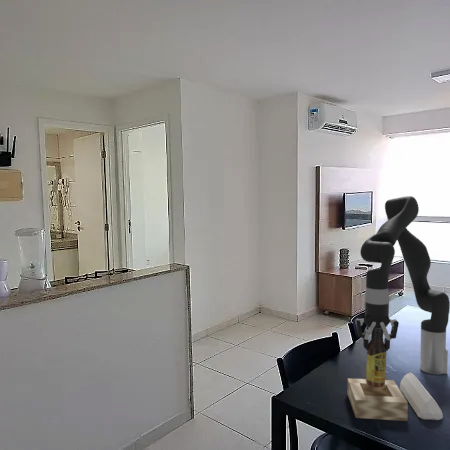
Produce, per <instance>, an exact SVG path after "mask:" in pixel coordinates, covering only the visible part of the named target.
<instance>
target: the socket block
mask: <svg viewBox="0 0 450 450" xmlns="http://www.w3.org/2000/svg"><path fill="white" fill-rule="evenodd" d="M347 398H348V399H349V403H350V405H351V408H352V411H353V414H354V416H355V418H356V419H366V420H367V419H368V420H369V419H371V420H385V421H386V420H387V421H398V422H399V421H400V422H401V421H403V422H408V417H409V416H408V414H409V412H408V409H409V408H408V405H409V404H408V403H409V402H408V400H407V399H406V397H405V396H404V394H403V393H402V391H401V390H400V387H399V386H398V385H397V383H396V382H395V380H394V379H388V380H387V379H385V385H384V386H383V387H372V386H370V385H368V384H367V382H366V378H347Z"/></svg>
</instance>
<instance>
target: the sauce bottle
mask: <svg viewBox="0 0 450 450" xmlns="http://www.w3.org/2000/svg"><path fill="white" fill-rule="evenodd" d="M370 335H371V336H370V340H369V344H368V350H366V366H365V368H366V369H365V371H366V372H365V379H366V382H367V384H368V385H370V386H372V387H383V386H384V385H385V380H387V379H386V378H387V377H386V376H387V375H386V374H387V351H386V349H385V345H384V334H383V330H382V328H374V331H372V332H371V334H370Z"/></svg>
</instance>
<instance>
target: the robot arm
mask: <svg viewBox="0 0 450 450" xmlns="http://www.w3.org/2000/svg"><path fill="white" fill-rule="evenodd" d="M384 210H385V214H386V217H387V219H388V220H386V221H385V222H383V224H382V225H380V227H379V229H378V230H377V231H376V233H375V234H373V235H371V237H369V238H367V239H366V240H365V241H364V242H363V244H362V246H361V248H360V257H361V259H363V261H365V262H367V263H376V264H381V265H380V266H379V268H372V269H371V268H370V269H368V270H367V271H366V274H365V275H366V276H365V279H366V280H365V282H366V283H365V292H364V317H363V318H355V320H354V321H355V328H356V333H357V335H358V338H362V339H363V340H362V342H363V343H362V346H363V348H364V349H365V351H367V350H368V344H369V342H370V340H369V337H370V335H371V334H372V331H374V328H382V330H383V342H384V345H385V349H386V352H388V351H389V350H390V349H391V340H392V339H396V338H397V334H398V328H399V324H400V323H399V321H398V320H397V319H395V318H393V319H391V318H390V317H389V316H390V315H389V313H390V311H389V310H390V292H389V278H390V277H389V276H390V271H391V267H392V263H393V260H394V259H395V258H394V257H395V253H396V250H395V247H394V246H395V245H396V243H398V246H399V249H400V251H401V255H402V258H403V261H404V263H405V265H406V268H407V272H408V275H409V277H410V281H411V284H412V288H413V292H414V297H415V301H416V304H417V306H418V308H419V309H421V310H422V311H424V312H428V313H431V314H430V315H431V316H430V318H429V319H423V320H422V321H421V322H420V349H419V351H420V356H419V357H420V358H419V359H420V360H419V365H420V366H419V369H420V370H421V371H422V372H424V373H426V374H429V375H437V376H441V375H445V374H447V375H448V358H449V357H448V355H449V354H448V353H449V351H448V349H447V328H448V324H449V319H450V318H449V315H450V298H449V297H450V296H449V295H448V294H447V293H445V292H442V291H438V290H435V289H432V288H431V287H430V285H429V281H428V274H429V271H430V268H431V257H430V255H429V251H428V249H427V246H426V244H424V243H423V242H422V241H421V239H419V238H418V237H417V236H415V235H414V234H413V233H412V232H410V231H409V230H408V228H407V227H408V226H410V224H411V223H413V221H414V220H415V219H416V218H417V217H418V214H419V212H420V209H419V203H418V201H417V199H416V198H415V197H414V196H412V195H406V196H401V197H396V198H391V199H388V200H386V201H385V203H384ZM363 323H365V325H366V327H365V329H364V332H363V331H362V326H363V325H364V324H363ZM389 325H390V326H391V330H390V333H389V332H388V330H387V327H388V326H389Z"/></svg>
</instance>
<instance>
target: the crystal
mask: <svg viewBox="0 0 450 450" xmlns="http://www.w3.org/2000/svg"><path fill="white" fill-rule="evenodd" d="M399 390H400V391H401V393H402V394H403V396H404V398H405V399H406V401H407V402H408V403H409V405H410V407H411V408H412V409H413V411H414V412H415V413H416V416H417V417H418V418H420V419H422V420H429V421H431V420H432V421H440V420H442V419H443V417H444V415H443V411H442V409H441V407H440V406H439V405H438V403H437V401H436V400H435V399H434V397H432V394H430V393H429V391H428V390H427V389H426V388H425V387H424V385H423V384H422V382H421V381H420V380H419V378H418V377H417V376H416V375H415V374H413V373H412V372H410V371H409V372H408V373H407V374H404V376H403V378H402V379H401V381H400V384H399Z"/></svg>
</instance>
